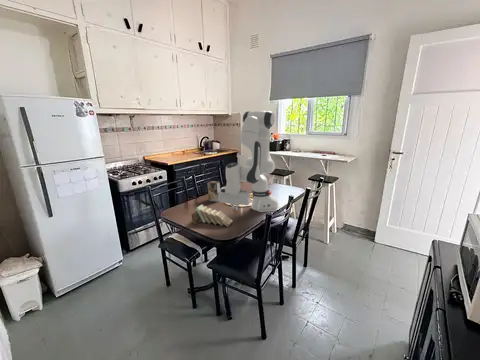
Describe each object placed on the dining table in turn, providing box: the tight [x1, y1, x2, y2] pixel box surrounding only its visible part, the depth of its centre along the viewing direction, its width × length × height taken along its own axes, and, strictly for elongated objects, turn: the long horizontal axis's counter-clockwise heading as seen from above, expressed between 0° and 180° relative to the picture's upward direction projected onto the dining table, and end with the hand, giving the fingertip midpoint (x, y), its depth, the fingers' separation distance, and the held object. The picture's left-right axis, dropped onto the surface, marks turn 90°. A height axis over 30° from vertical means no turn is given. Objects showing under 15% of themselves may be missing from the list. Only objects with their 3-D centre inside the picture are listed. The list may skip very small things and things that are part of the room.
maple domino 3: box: [209, 209, 224, 227], centre depth 154 cm, size 2×6×11 cm
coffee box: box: [207, 180, 221, 203], centre depth 196 cm, size 9×6×16 cm
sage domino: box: [195, 204, 207, 223], centre depth 158 cm, size 2×6×11 cm, turn 157°
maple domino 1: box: [199, 205, 213, 224], centre depth 156 cm, size 2×6×11 cm
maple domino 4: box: [215, 210, 233, 228], centre depth 152 cm, size 2×6×11 cm
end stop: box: [191, 210, 202, 225], centre depth 160 cm, size 3×12×7 cm, turn 157°
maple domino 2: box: [204, 207, 219, 226], centre depth 155 cm, size 2×6×11 cm
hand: (235, 209), depth 147 cm, fingers closed
